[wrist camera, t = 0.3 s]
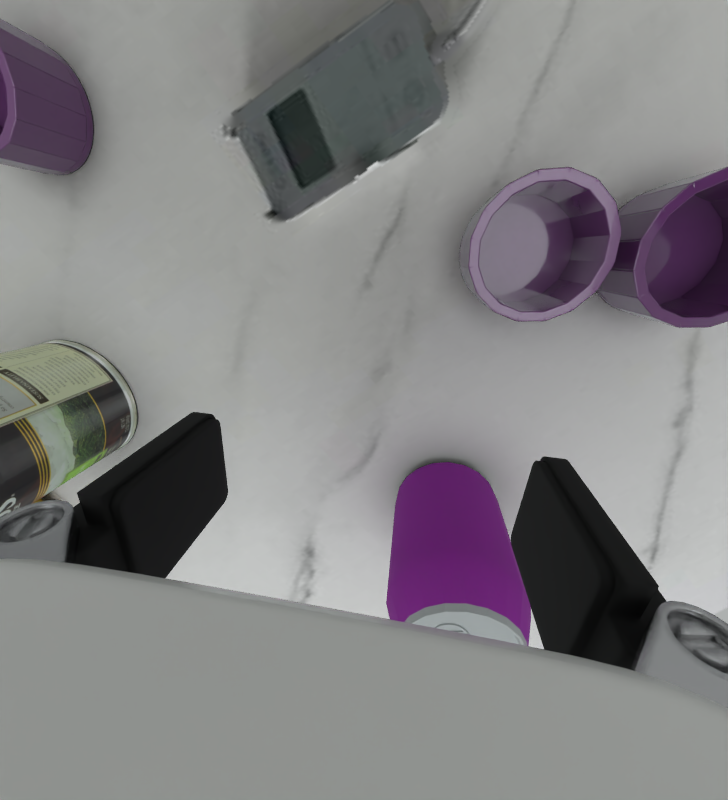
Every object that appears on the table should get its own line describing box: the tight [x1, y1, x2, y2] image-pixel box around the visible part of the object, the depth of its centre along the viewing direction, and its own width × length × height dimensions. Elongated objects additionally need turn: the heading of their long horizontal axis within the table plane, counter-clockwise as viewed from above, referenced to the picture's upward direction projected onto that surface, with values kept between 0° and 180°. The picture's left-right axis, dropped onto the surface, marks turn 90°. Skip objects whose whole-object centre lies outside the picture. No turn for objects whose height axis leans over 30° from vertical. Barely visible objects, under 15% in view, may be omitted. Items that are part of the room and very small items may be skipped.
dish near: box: [596, 167, 728, 328], centre depth 17 cm, size 7×7×4 cm
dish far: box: [0, 19, 93, 175], centre depth 19 cm, size 7×7×4 cm
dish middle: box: [459, 167, 621, 321], centre depth 18 cm, size 7×7×4 cm
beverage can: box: [386, 462, 531, 646], centre depth 22 cm, size 8×8×12 cm
